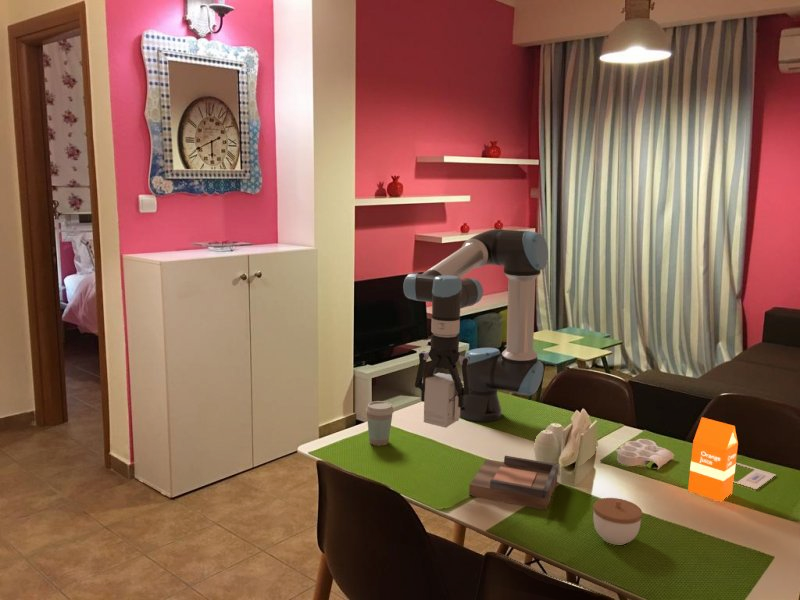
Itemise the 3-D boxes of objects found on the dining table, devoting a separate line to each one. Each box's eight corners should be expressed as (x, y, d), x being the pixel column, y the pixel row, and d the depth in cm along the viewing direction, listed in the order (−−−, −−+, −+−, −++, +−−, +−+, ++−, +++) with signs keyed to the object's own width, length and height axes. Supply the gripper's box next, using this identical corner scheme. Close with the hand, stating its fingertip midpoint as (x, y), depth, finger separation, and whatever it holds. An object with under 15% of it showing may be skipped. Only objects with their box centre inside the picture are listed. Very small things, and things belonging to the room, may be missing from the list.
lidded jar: (614, 555, 157) (617, 516, 155) (581, 533, 166) (584, 496, 165) (649, 545, 162) (653, 506, 160) (615, 524, 171) (618, 487, 170)
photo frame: (756, 488, 192) (691, 467, 204) (755, 492, 192) (690, 470, 205) (776, 473, 202) (712, 454, 214) (775, 477, 202) (712, 458, 215)
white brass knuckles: (653, 476, 200) (604, 461, 210) (677, 458, 214) (630, 445, 223) (654, 465, 200) (605, 450, 209) (678, 447, 213) (631, 434, 223)
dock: (485, 469, 201) (486, 452, 200) (557, 481, 194) (558, 464, 193) (468, 495, 184) (469, 477, 183) (546, 510, 177) (547, 491, 176)
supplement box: (446, 428, 188) (448, 382, 186) (422, 422, 192) (424, 377, 190) (459, 420, 194) (461, 376, 192) (436, 415, 198) (438, 371, 196)
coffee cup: (394, 438, 222) (395, 401, 220) (391, 448, 214) (392, 410, 211) (367, 436, 223) (367, 399, 221) (363, 446, 214) (363, 408, 212)
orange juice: (699, 483, 196) (707, 413, 192) (732, 494, 190) (741, 422, 186) (687, 491, 190) (695, 420, 187) (720, 502, 184) (729, 429, 180)
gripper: (403, 332, 189) (401, 414, 193) (479, 341, 182) (475, 425, 186) (413, 327, 196) (410, 405, 200) (486, 335, 189) (482, 416, 193)
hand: (441, 415), depth 193 cm, fingers closed on supplement box, 8 cm apart
